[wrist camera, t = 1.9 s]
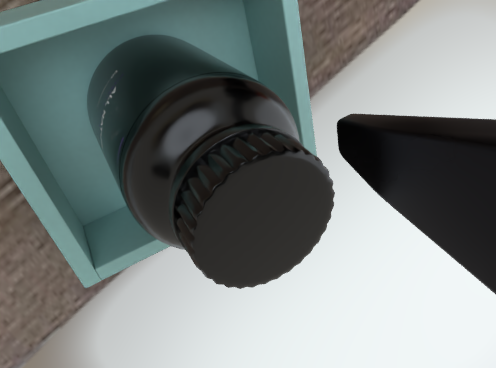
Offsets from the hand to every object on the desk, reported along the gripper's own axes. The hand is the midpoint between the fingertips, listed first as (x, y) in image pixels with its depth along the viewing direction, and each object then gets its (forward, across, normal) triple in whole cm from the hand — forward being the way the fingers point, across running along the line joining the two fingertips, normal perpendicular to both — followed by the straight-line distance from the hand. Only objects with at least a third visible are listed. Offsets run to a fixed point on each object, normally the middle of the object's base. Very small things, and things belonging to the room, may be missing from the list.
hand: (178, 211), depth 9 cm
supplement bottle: (+13, -2, +2) cm, 13 cm away
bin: (+13, -2, +2) cm, 13 cm away
